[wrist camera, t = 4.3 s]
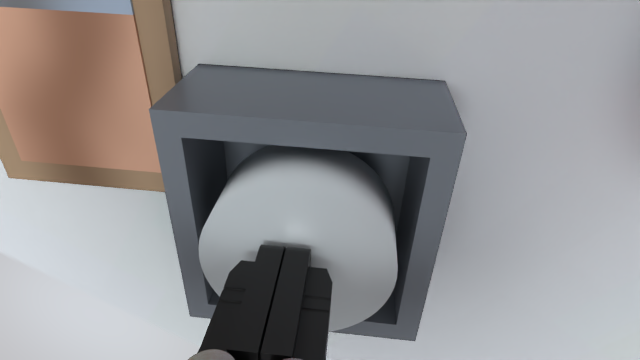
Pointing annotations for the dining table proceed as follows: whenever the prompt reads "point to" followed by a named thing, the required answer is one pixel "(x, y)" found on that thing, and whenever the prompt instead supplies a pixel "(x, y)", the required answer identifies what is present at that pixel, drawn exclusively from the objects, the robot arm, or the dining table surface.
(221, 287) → the dome button
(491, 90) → the dining table surface
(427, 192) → the base
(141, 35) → the wooden color swatch board
